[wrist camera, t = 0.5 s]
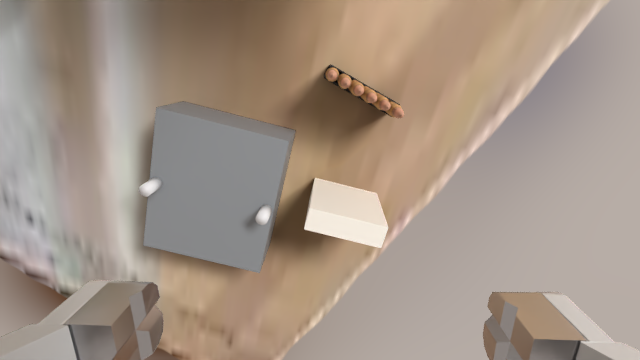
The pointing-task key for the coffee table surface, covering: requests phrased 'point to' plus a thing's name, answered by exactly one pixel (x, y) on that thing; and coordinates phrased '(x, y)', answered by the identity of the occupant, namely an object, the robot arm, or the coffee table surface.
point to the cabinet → (214, 184)
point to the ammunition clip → (363, 92)
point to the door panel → (346, 213)
